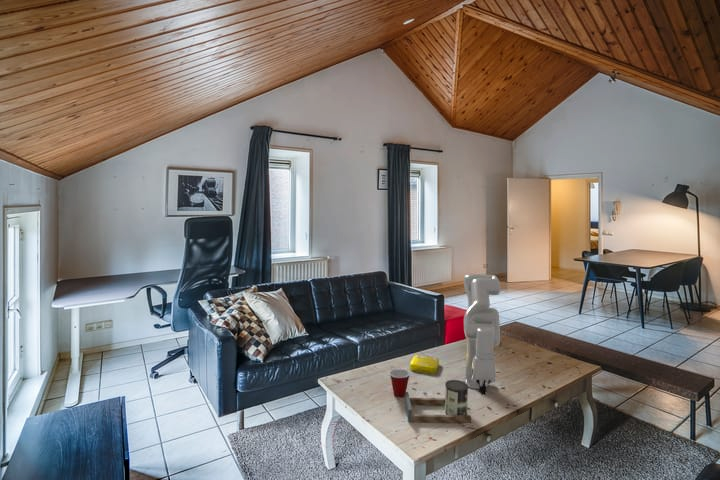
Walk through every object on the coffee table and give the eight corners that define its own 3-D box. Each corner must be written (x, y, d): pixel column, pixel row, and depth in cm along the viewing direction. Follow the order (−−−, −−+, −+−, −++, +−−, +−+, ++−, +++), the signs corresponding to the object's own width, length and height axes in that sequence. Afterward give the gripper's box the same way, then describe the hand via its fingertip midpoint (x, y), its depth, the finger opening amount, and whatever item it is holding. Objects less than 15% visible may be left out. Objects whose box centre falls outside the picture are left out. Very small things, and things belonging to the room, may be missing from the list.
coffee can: (466, 408, 184) (467, 380, 183) (467, 421, 174) (469, 391, 173) (444, 406, 186) (445, 378, 185) (444, 418, 176) (445, 389, 175)
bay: (462, 404, 188) (462, 392, 187) (471, 423, 172) (471, 410, 171) (404, 403, 188) (405, 391, 188) (408, 422, 173) (408, 409, 172)
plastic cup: (401, 387, 204) (401, 365, 203) (414, 396, 195) (414, 374, 194) (384, 392, 199) (384, 370, 197) (396, 402, 190) (397, 379, 188)
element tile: (409, 370, 225) (409, 363, 225) (415, 360, 239) (415, 353, 239) (435, 375, 220) (435, 367, 219) (439, 364, 234) (439, 357, 233)
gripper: (497, 352, 180) (496, 390, 182) (465, 351, 180) (464, 389, 182) (503, 358, 173) (501, 397, 174) (470, 357, 173) (468, 397, 174)
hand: (482, 393), depth 178 cm, fingers closed
